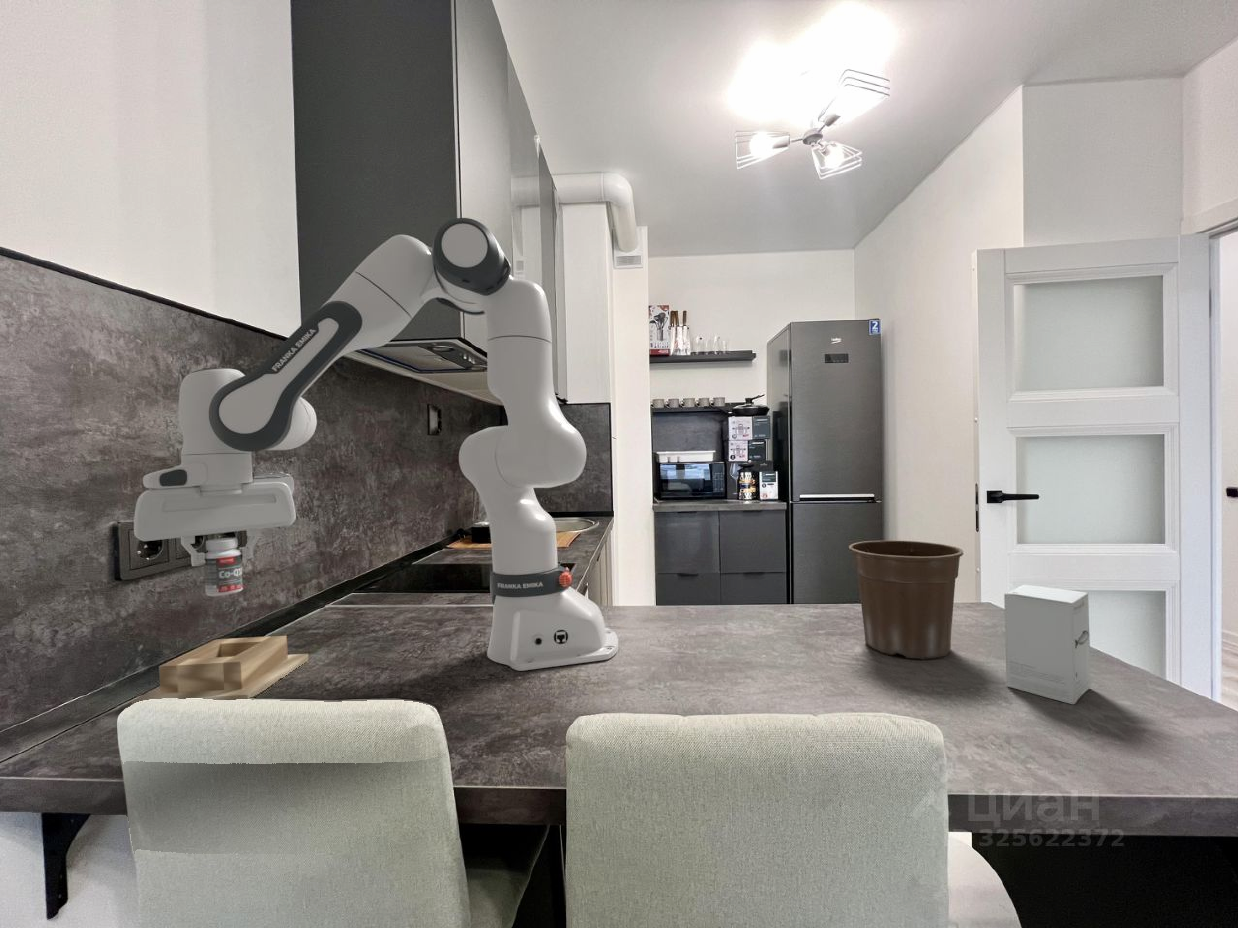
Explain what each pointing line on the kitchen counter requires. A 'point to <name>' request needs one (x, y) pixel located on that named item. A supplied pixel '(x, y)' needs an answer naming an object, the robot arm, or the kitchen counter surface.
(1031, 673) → the supplement box
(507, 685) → the kitchen counter surface
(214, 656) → the birch socket block
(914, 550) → the plant pot
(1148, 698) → the kitchen counter surface
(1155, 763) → the kitchen counter surface
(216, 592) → the pill bottle
